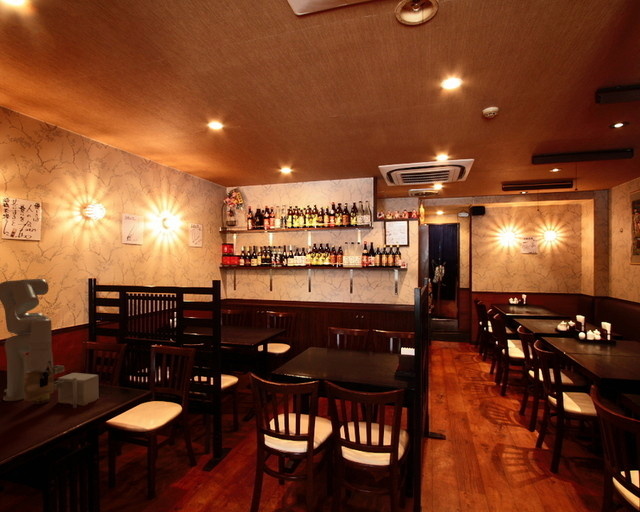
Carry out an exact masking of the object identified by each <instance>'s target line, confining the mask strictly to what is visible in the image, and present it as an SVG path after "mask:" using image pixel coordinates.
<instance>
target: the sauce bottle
mask: <svg viewBox="0 0 640 512" xmlns="http://www.w3.org/2000/svg"><path fill="white" fill-rule="evenodd" d="M50 399H51V393H50V394H48V395H45V396H43V397H40V398H37V399H35V400H33V402H34V403H33V404H35V405H43V404H46V403H49V402H50Z"/></svg>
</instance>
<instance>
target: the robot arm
mask: <svg viewBox="0 0 640 512" xmlns="http://www.w3.org/2000/svg"><path fill="white" fill-rule="evenodd" d="M48 292H49V283H48V281H47V280H45V279H44V278H28V279H26V278H25V279H19V280H17V279H16V280H6V281H2V282H0V302H1V304H2V306H3V308H4V315H5V316H4V318H5V324H6V330H7V331H8V332H9V333H10V334H14V335H12V336H9V337H8V338H6V340H5V342H4V348H5V353H6V361H7V362H6V363H7V364H6V367H7V369H6V375H7V378H6V379H7V381H6V382H7V388H5V389H4V391H3V392H4V393H6V395H4V396H3V398H2V399H3V401H4V402H15V401H20V400H24V374H25V373H29V372H32V371H33V372H39V373H41V379H40V387H44V386H47V385H48V377H49V375H50V374H51V373H53V370H52V368H53V366H54V356H53V349H52V319H50V317H48V316H46V315H44V314H43V313H42V312H30V313H28V312H29V311H32V310H34V309H35V308H37V307H38V306H39V304H40V299H39V297H38V296H44V295H47V294H48ZM27 353H28V354H27ZM44 372H46V373H45V374H44Z"/></svg>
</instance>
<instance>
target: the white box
mask: <svg viewBox="0 0 640 512" xmlns="http://www.w3.org/2000/svg"><path fill="white" fill-rule="evenodd" d="M99 377H100V376H99V374H91V373H81V372H71V373H69V374H65V375H63V376H60V377H58V378H57V381H64V387H62V388H60V389H57V390H58V391H57V394H58V395H57V397H58V398H57V402H58V403H61V404H68V403H69V404H70V405H72V409H77V408H78V406H87V405H88V403H89V404H90V402H91V403H93V402H96V401H98V400H99V398H100V397H99ZM97 399H98V400H97ZM77 404H78V405H77Z"/></svg>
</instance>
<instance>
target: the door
mask: <svg viewBox="0 0 640 512" xmlns="http://www.w3.org/2000/svg"><path fill="white" fill-rule="evenodd" d="M52 370H53V373H51V374H50V375H49V377H48V385H47V386H44V387H40V379H41V373H39V372H33V371H32V372H29V373H25V374H24V399H23V401H25V402H28V403H29V402H31V401H34V400H35V399H37V398H40V397H43V396H45V395H48V394H50V395H51V394H54V392H55V391H57V390H58V389H60V388H62V387H64V381H58V380H56V381H55V375H57V374H60V373H63V372H65V366H64V365H59V364H57V365H53V368H52ZM45 373H46V372H44V374H45Z"/></svg>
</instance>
